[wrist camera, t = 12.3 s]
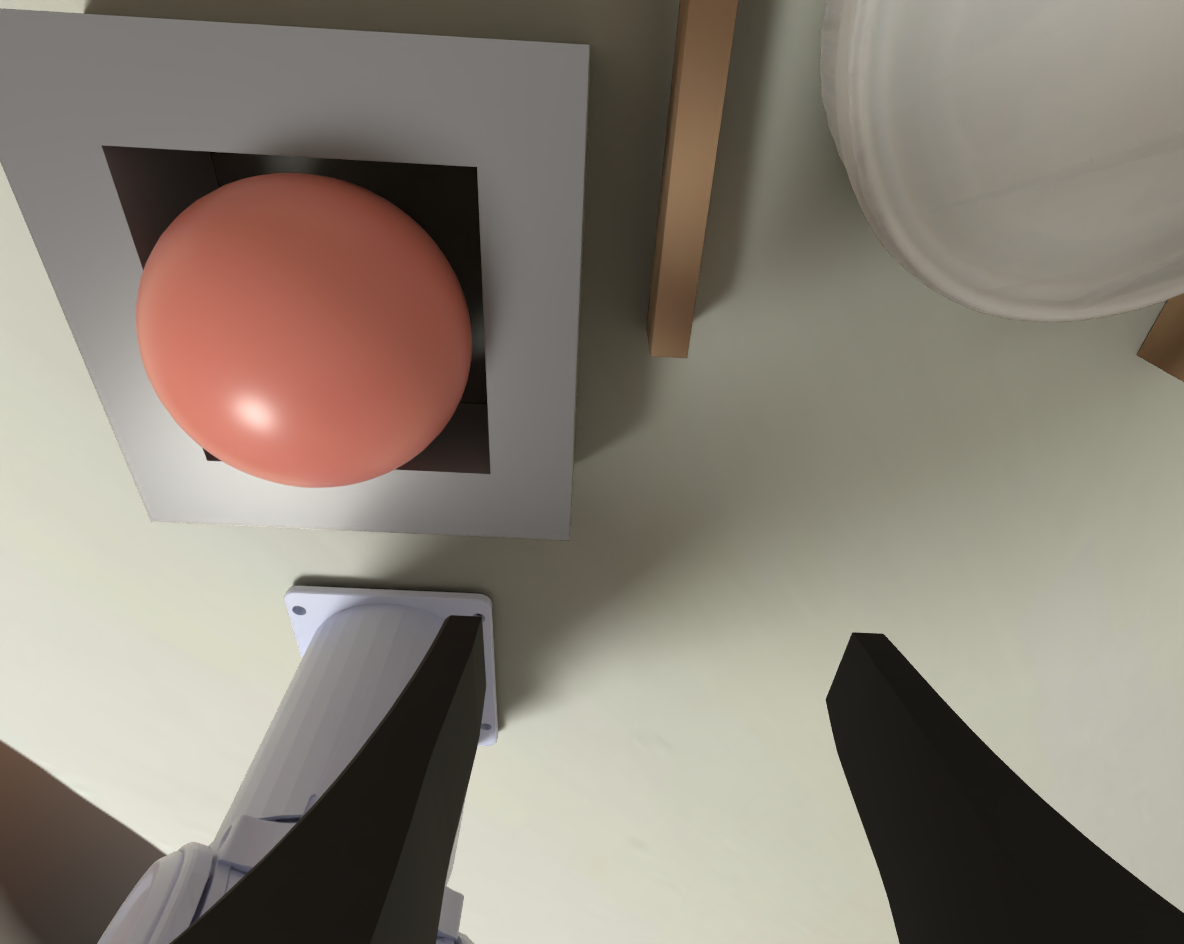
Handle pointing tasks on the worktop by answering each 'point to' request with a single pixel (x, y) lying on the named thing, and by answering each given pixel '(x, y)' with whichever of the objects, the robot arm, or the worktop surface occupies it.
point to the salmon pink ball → (303, 330)
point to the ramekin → (1016, 146)
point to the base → (320, 130)
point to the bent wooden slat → (689, 160)
